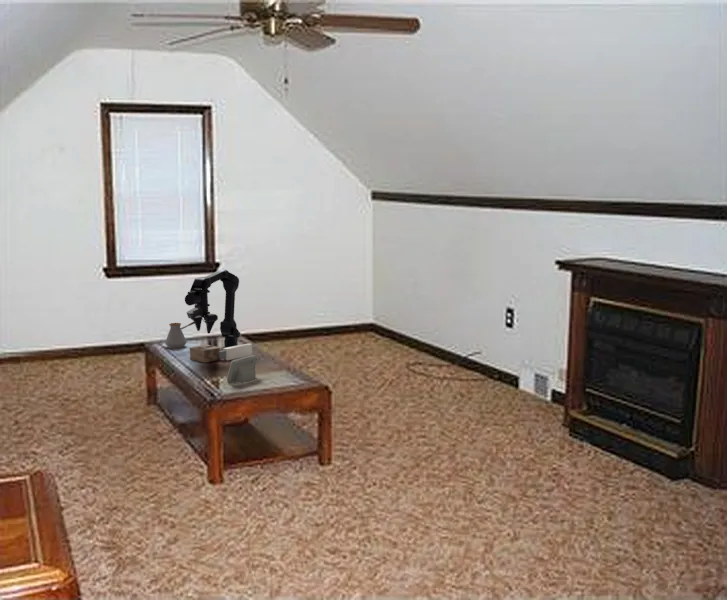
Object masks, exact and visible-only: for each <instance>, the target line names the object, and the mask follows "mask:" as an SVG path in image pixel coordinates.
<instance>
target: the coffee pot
mask: <svg viewBox="0 0 727 600" xmlns="http://www.w3.org/2000/svg"><path fill="white" fill-rule="evenodd" d="M204 321H205V320H204V318H202V322H204ZM168 324H169V327H170V329H169V331H168V334H167V336H166V339H165V342H164V343H165V345H166V346H167V347H168V348H169V347H170V348H169V349H181V347H182V348H184V346H186V344H187V339H186V337H185V334H184V333H183V330H184V329H185V328H187V327H189V326H192V325H195V323H194V321H192V322H191V323H188V324H186V325H184V326H183V327H181V325H182V323H181V322H172V323H168Z"/></svg>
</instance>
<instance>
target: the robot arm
mask: <svg viewBox="0 0 727 600" xmlns="http://www.w3.org/2000/svg"><path fill="white" fill-rule="evenodd" d="M218 281H220V282H221V283H222V287H223V289H224V291H225V303H224V318H223V320H222V321H220V323H219V324H220V325H219V326H220V327H219V330H220V334H221V337H222V338H224V340H223V343H224V345H223V347H222V348H227V347H232V346H237V345H239V344H238V338H240V337H241V332H240V331H239V329H238V328H237V322H236V321H235V300H236V291H238V288H239V287H240V286H239V285H240V278H239V277H238V276H237V275H235V273H234V274H233V273H232V272H229V270H227V269H218V270H217V271H215V272H213V273H210V274H208V275H207V276H200V277H195V278H194V280H193V281H192V284H191V286H190V287H191V288H190V290H189V291H188V292H187V294H186V295H185V296H184V303H185V304H186V305H187V306H189V307H190V306H193V305H194V307H193V308H192V309H189V310H188V311H187V312H186V314H187V318H188V319H189V320H192V322H194V323H195V324H194V326H195V328H196V330H197V332H200V331H201V327H202V322H203V323H205V326H206V332H207V333H206V334H210V333H211V331H212V329H213V328H214V327H213V326H214V325H215V323H216V322H217V321H218V317H219V316H218V314H217V313H216V314H215V313H211V311H209V307H210V305H211V304H210V303H209V298H208V296H209V295H208V294H209V293H211V291H210V290H209V288H211V287H212V285H213V284H214V283H216V282H218ZM202 318H203V320H204V321H203V320H202Z"/></svg>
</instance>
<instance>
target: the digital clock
mask: <svg viewBox="0 0 727 600" xmlns="http://www.w3.org/2000/svg"><path fill="white" fill-rule="evenodd" d="M257 360H258V356H257V355H256V354H252V355H250V356H246V357H241V358H236V359H232V360H231V362H230V365H229V368H228V373H227V377H226V381H227V383H232V382H234V383H239V384H240V383H241V384H243V383H247V382H250V381H253V380H256V375H257V374H256V365H257Z"/></svg>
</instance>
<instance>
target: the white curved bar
mask: <svg viewBox="0 0 727 600" xmlns="http://www.w3.org/2000/svg"><path fill="white" fill-rule="evenodd" d="M222 348H223V347H222ZM252 355H253V344H252V343H244V344H243V343H242V344H238V345H237V346H232V347H227V348H223V349H222V350H220V351H219V360H225V361H230V360H231V361H232V360H237V359H240V358H244V357H248V356H252Z"/></svg>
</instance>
